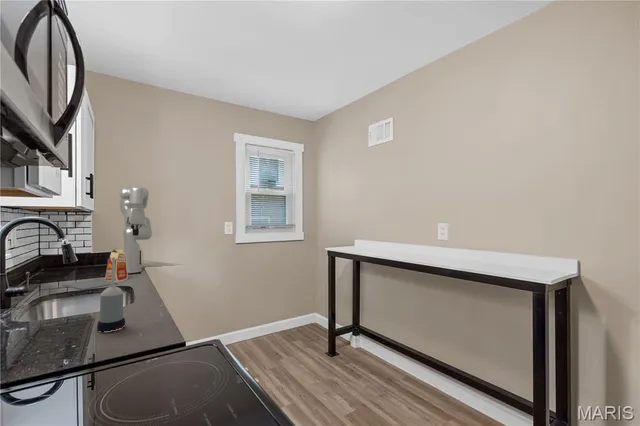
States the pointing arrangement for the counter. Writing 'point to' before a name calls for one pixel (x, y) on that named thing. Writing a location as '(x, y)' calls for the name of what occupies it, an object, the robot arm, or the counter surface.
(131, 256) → the robot arm
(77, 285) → the mat
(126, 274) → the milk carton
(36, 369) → the counter surface
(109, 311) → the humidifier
